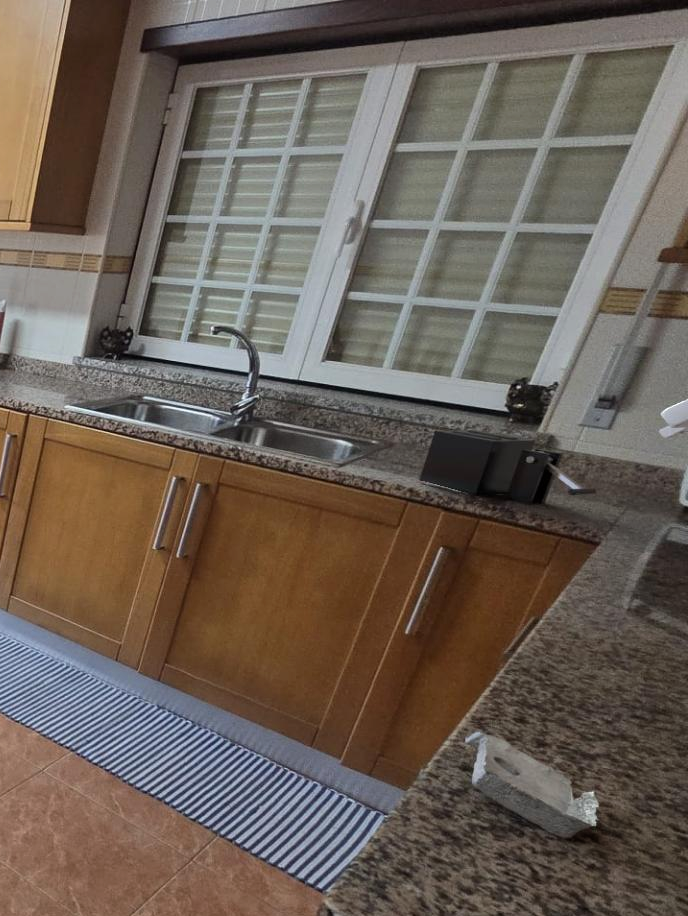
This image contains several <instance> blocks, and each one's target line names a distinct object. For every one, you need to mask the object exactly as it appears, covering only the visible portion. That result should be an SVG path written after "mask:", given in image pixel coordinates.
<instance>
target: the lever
mask: <svg viewBox="0 0 688 916" xmlns="http://www.w3.org/2000/svg"><path fill="white" fill-rule="evenodd" d="M537 452H543V451H537ZM543 453H544V452H543ZM553 460H554V459H552V458H551V457H550V456H549V458H548V461H547V464H546V467H545V468H546V469H547V470H548V471H550V472H551V473H552V474H554V475H555V477H556V478H557V479H558V480H560V481H561V482H563V483H564V484H565V485H566V486H568V487H569V488H570V489H569V490H568V495H569V496H583V495H585V496H587V495H594V494H596V493H597V489H596V488H594V487H583V486H582V485H580V484H579V483H578V482H577V481H575V480H574V479H572V478H571V477H569V476H568V475H567V474H566V473H565V472H564V471H562V470H560V469H559V467H558V468H556V467H555V466H554V465H552V464H551V463H550V462H552V461H553Z"/></svg>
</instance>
